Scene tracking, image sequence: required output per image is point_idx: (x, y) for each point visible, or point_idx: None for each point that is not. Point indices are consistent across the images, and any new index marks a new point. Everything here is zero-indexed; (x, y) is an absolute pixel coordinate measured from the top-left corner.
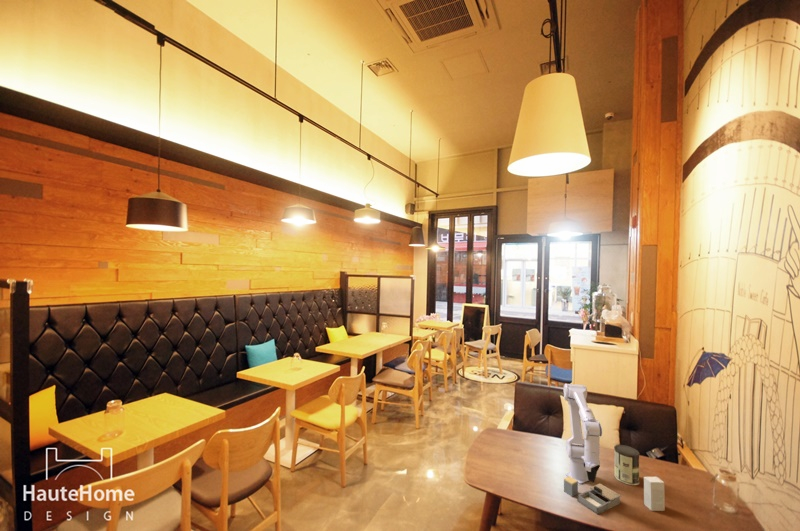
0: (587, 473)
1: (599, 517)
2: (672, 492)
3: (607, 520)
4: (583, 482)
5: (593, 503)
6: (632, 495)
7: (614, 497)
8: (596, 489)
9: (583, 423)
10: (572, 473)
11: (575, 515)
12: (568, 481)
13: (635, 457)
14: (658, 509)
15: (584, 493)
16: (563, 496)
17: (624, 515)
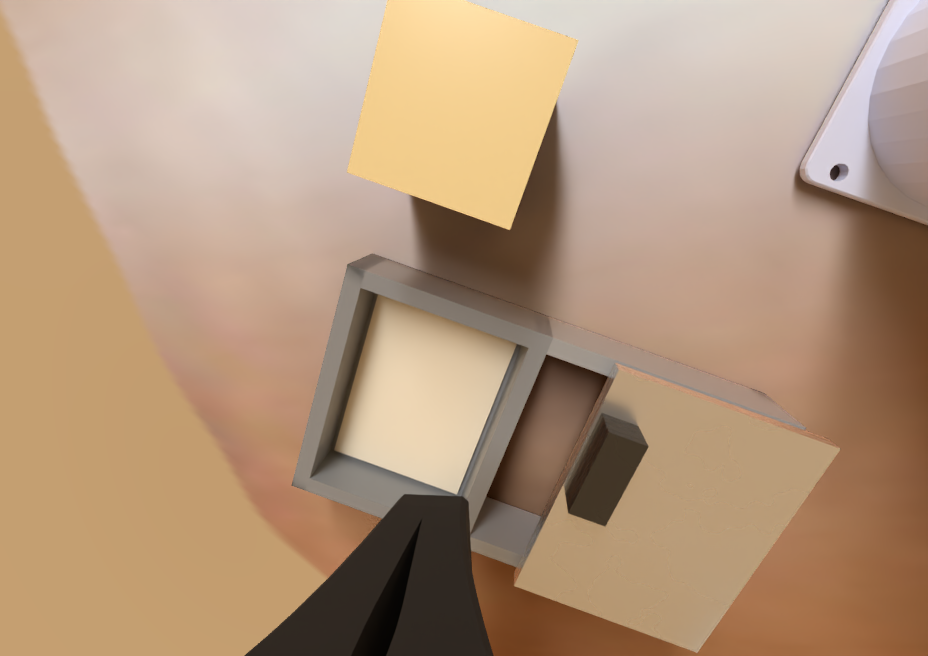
0: (290, 621)
1: (294, 464)
2: None
3: (310, 516)
4: (859, 200)
5: (427, 404)
6: (909, 648)
7: (593, 610)
8: (588, 456)
9: None
10: None
11: (138, 300)
12: (371, 92)
13: None
14: None
15: (457, 321)
16: (333, 93)
17: (491, 607)
